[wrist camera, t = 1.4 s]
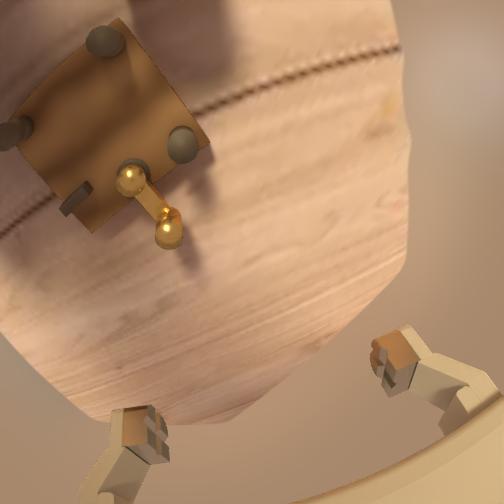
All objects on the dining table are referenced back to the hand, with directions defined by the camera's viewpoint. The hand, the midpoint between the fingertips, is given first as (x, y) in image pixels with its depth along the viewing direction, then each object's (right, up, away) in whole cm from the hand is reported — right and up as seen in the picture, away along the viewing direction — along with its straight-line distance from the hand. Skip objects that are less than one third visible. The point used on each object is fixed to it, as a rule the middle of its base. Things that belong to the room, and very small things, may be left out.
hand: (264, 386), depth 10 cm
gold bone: (-11, +10, +20) cm, 25 cm away
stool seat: (-16, +18, +18) cm, 30 cm away
